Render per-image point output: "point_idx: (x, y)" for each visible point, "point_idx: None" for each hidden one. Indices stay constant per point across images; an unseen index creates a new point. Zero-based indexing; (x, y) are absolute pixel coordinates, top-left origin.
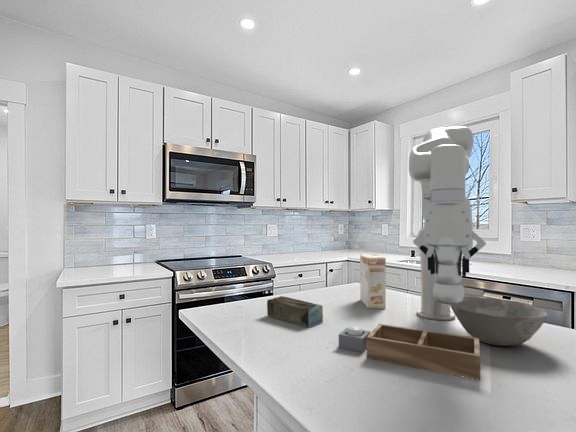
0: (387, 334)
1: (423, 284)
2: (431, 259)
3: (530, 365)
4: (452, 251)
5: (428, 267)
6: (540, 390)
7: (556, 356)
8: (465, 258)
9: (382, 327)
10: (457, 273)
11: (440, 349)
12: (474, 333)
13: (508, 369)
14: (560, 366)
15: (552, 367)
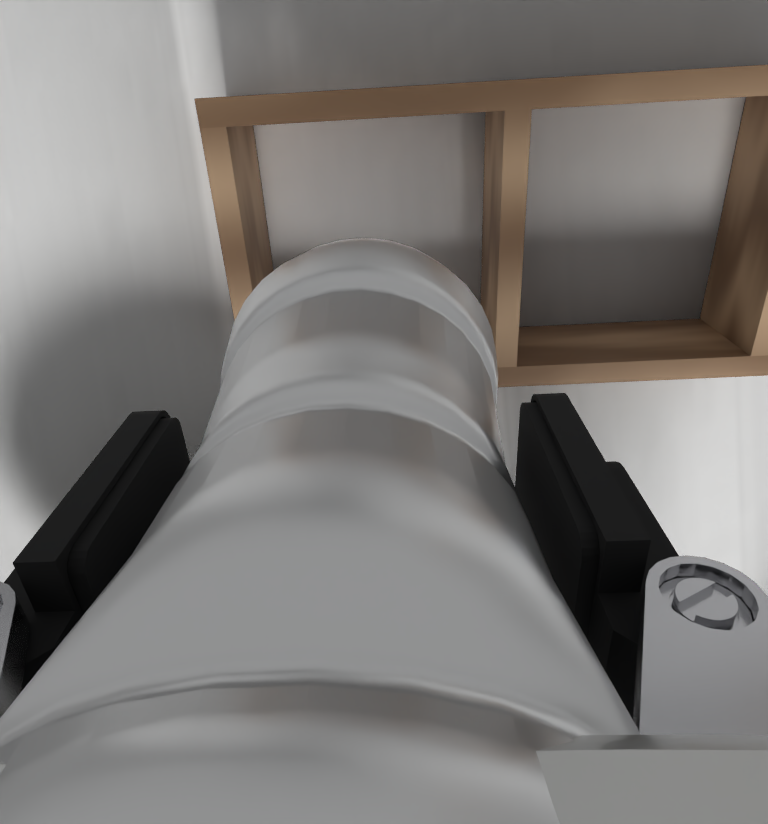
0: (695, 339)
1: None
2: (617, 513)
3: (89, 392)
4: (157, 586)
5: (615, 474)
6: (7, 136)
7: (33, 528)
8: (34, 617)
9: (740, 351)
10: (221, 410)
11: (397, 91)
12: None
13: (149, 302)
14: (3, 437)
15: (22, 413)
